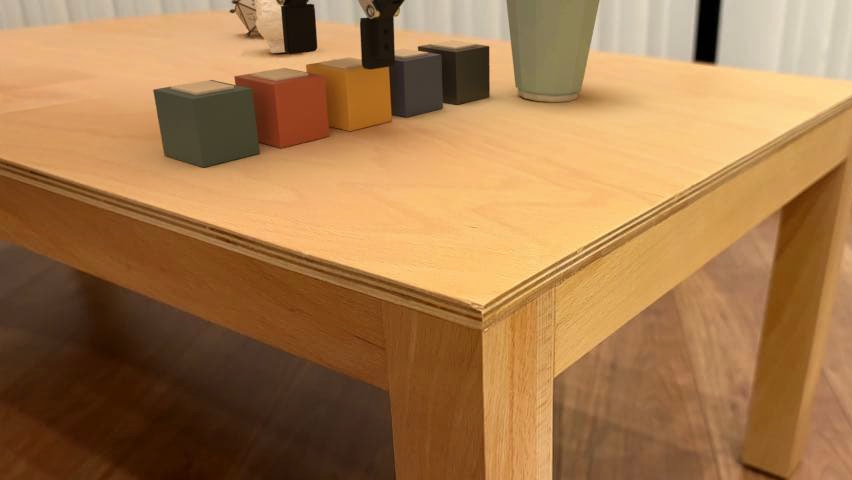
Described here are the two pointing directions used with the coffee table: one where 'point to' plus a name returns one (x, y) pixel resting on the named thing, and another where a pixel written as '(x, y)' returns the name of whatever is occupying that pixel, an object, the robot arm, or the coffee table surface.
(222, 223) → the coffee table surface
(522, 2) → the disposable coffee cup
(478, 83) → the block
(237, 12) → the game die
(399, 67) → the block
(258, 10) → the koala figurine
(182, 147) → the block
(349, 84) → the yellow cube block
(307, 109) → the block
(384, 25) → the robot arm
